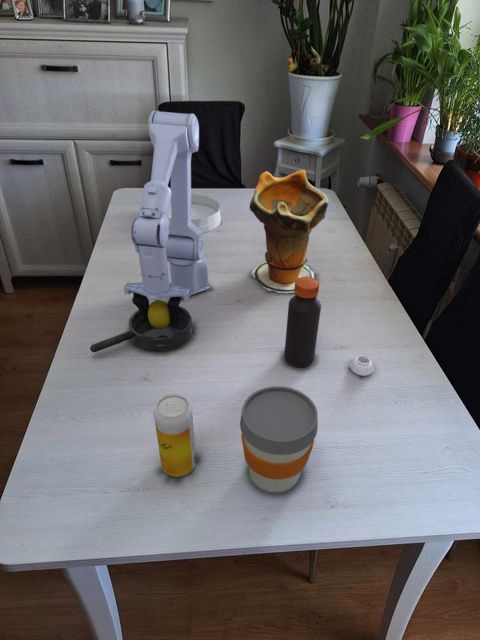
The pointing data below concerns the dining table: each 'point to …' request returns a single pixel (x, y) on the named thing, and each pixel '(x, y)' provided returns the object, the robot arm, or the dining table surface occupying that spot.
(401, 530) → the dining table surface
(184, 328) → the pan
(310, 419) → the reusable coffee cup
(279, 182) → the decorative vase
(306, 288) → the bottle
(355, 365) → the lidless jar
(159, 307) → the lemon
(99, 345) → the pan handle
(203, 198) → the dish
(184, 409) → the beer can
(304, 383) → the dining table surface
